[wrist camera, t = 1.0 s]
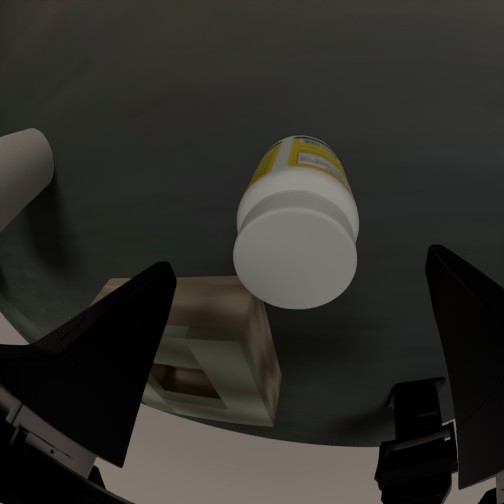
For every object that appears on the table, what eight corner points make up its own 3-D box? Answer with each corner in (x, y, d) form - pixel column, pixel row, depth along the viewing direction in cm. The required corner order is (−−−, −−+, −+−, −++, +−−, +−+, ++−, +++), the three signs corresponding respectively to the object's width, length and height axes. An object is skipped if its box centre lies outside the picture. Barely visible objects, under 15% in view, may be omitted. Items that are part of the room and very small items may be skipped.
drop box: (281, 375, 28) (273, 426, 23) (166, 366, 32) (149, 407, 27) (256, 274, 20) (238, 341, 16) (110, 278, 24) (76, 324, 19)
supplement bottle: (273, 218, 18) (246, 322, 11) (248, 146, 15) (194, 216, 8) (350, 203, 16) (372, 308, 9) (333, 126, 14) (359, 181, 7)
